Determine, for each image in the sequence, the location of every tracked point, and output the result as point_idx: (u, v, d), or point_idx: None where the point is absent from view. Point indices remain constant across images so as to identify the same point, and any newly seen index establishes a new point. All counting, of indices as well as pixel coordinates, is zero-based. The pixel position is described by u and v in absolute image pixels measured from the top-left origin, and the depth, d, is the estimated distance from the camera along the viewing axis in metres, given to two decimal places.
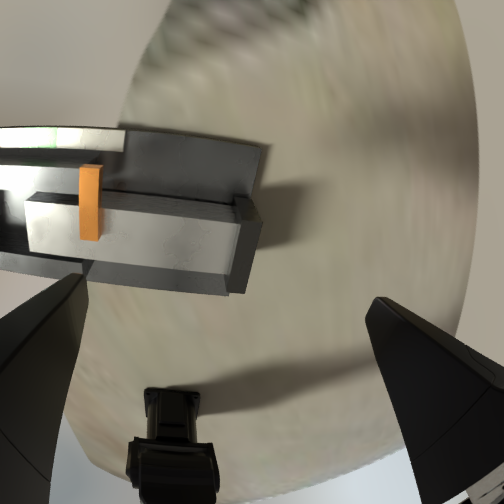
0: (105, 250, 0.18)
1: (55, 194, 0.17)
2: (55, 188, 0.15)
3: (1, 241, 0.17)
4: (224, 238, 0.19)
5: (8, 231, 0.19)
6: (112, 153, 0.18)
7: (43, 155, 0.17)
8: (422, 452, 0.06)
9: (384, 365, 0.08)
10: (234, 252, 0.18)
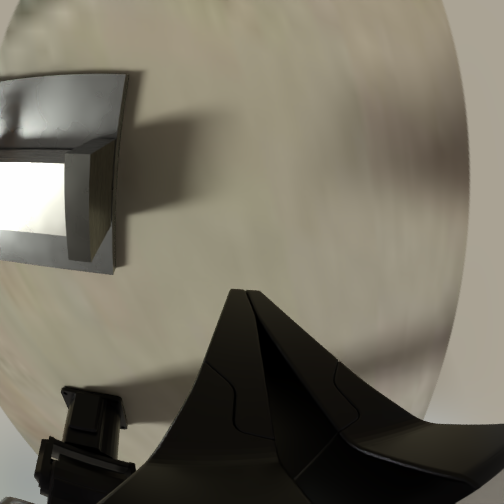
0: None
1: None
2: None
3: None
4: (61, 185, 0.12)
5: None
6: None
7: None
8: None
9: None
10: None
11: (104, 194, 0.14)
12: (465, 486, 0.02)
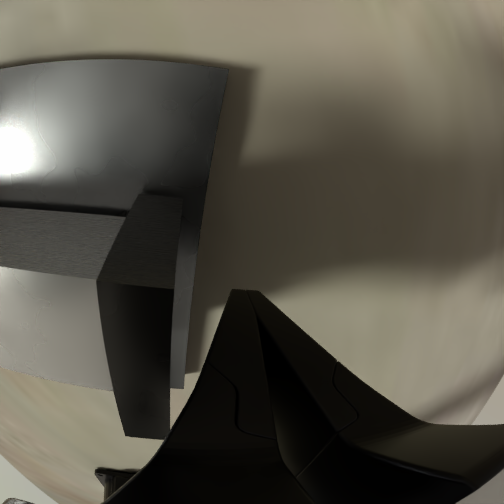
0: None
1: None
2: None
3: None
4: (89, 319, 0.06)
5: None
6: None
7: None
8: None
9: None
10: None
11: None
12: (464, 487, 0.02)
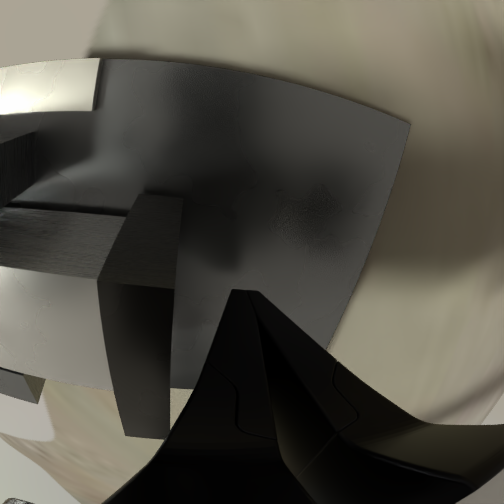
0: None
1: None
2: None
3: None
4: (89, 319, 0.06)
5: None
6: (68, 117, 0.06)
7: None
8: None
9: None
10: None
11: None
12: (464, 487, 0.02)
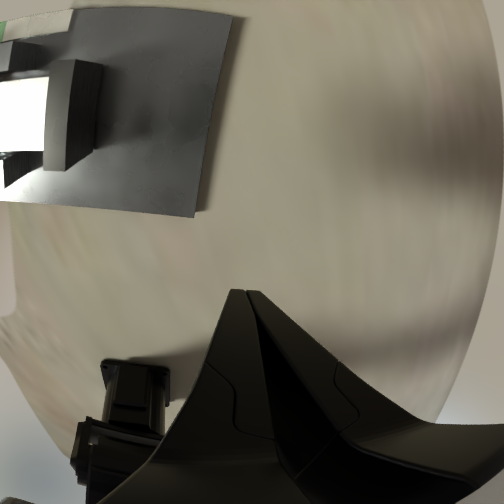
0: None
1: None
2: None
3: None
4: (45, 98, 0.10)
5: None
6: (57, 35, 0.11)
7: None
8: None
9: None
10: (47, 108, 0.10)
11: (87, 111, 0.12)
12: (465, 486, 0.02)
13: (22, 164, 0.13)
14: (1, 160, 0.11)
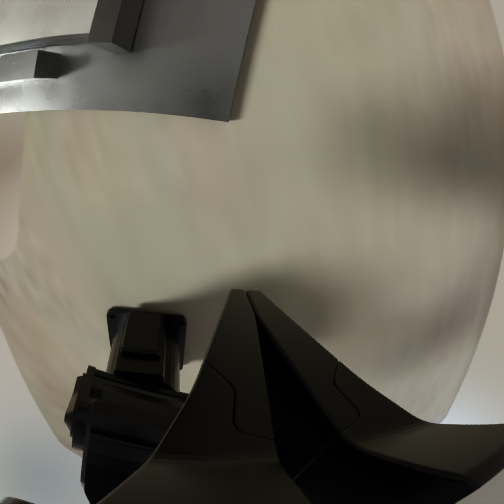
0: None
1: None
2: None
3: None
4: None
5: None
6: None
7: None
8: None
9: None
10: None
11: (134, 8, 0.11)
12: (465, 486, 0.02)
13: (53, 65, 0.12)
14: (36, 50, 0.10)
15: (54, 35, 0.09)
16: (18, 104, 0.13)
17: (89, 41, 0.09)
